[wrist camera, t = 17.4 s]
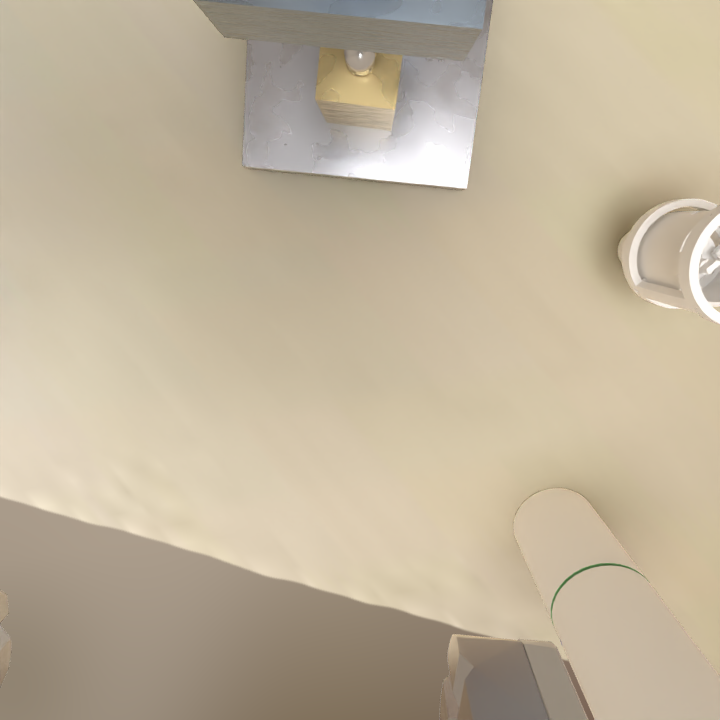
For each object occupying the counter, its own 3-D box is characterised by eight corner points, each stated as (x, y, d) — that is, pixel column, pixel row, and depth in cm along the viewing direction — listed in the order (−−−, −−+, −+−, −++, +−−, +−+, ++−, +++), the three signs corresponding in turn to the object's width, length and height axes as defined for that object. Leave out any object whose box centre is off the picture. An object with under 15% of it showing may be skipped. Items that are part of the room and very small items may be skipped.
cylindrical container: (534, 573, 50) (684, 907, 26) (499, 510, 49) (623, 802, 24) (608, 539, 49) (837, 854, 25) (575, 474, 48) (783, 741, 23)
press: (249, 168, 42) (65, 99, 17) (259, -45, 39) (44, -534, 13) (461, 190, 42) (592, 152, 17) (490, -21, 39) (709, -465, 13)
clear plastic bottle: (629, 313, 44) (754, 361, 30) (572, 248, 43) (673, 264, 28) (703, 249, 43) (873, 267, 28) (646, 180, 42) (793, 162, 27)
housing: (326, 122, 39) (312, 93, 30) (334, 51, 38) (321, -2, 28) (391, 130, 39) (396, 104, 30) (400, 59, 38) (408, 9, 29)
